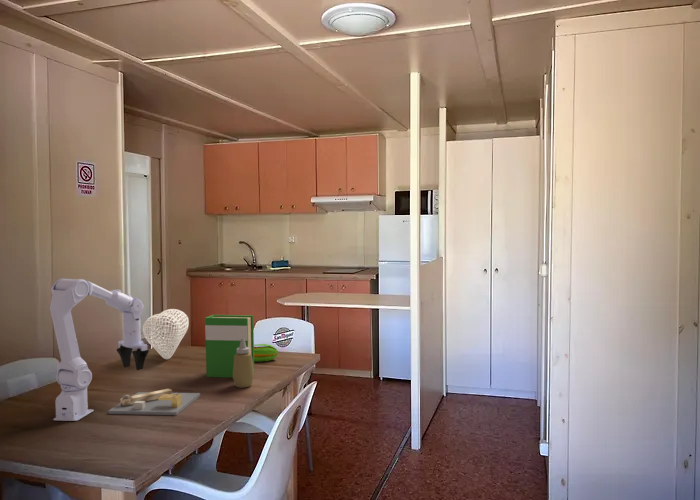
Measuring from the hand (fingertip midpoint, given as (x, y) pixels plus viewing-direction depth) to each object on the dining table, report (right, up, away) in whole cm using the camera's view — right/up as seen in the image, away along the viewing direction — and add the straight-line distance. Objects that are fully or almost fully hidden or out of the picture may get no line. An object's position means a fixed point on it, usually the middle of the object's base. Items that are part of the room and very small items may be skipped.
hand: (133, 368), depth 193 cm
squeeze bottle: (+38, -9, +9) cm, 40 cm away
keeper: (+19, -9, -16) cm, 26 cm away
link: (+9, -9, -10) cm, 16 cm away
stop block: (+9, -10, -18) cm, 22 cm away
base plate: (+12, -10, -11) cm, 19 cm away
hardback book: (+30, -9, +25) cm, 40 cm away
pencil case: (+36, -8, +49) cm, 61 cm away
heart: (-6, -8, +54) cm, 55 cm away
